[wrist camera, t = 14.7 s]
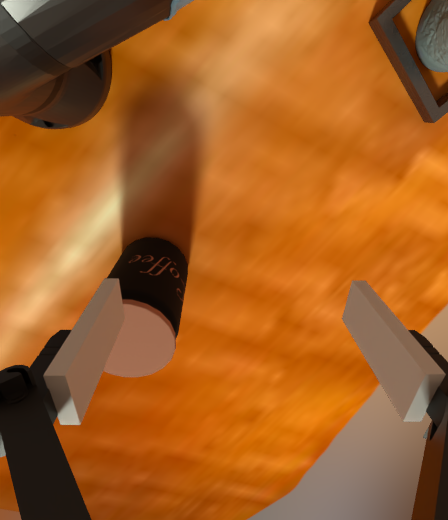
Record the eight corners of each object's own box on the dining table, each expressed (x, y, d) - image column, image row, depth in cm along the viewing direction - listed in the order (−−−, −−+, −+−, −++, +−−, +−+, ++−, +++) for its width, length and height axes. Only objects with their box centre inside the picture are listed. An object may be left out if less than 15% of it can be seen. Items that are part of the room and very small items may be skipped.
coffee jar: (202, 265, 49) (196, 344, 33) (158, 302, 52) (132, 391, 36) (152, 220, 45) (118, 284, 29) (108, 263, 48) (55, 342, 32)
